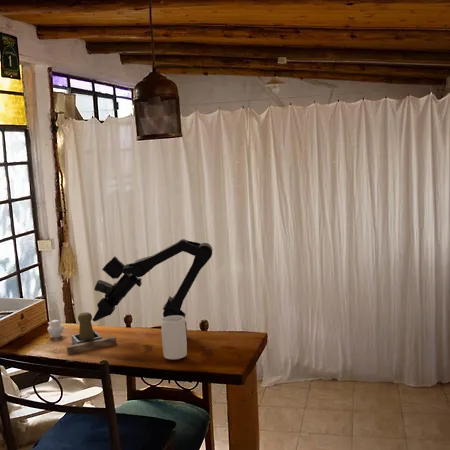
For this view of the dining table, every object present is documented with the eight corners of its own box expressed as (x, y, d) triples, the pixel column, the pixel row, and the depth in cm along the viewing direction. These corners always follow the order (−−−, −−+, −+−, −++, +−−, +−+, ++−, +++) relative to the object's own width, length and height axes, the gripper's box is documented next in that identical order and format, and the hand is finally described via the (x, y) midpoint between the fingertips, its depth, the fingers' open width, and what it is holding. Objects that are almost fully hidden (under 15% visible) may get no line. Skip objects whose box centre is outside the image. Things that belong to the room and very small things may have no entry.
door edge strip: (115, 342, 210) (114, 336, 210) (116, 343, 208) (116, 337, 208) (67, 352, 201) (66, 346, 201) (68, 354, 200) (67, 347, 199)
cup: (174, 352, 197) (171, 313, 195) (192, 356, 192) (190, 316, 190) (158, 360, 190) (155, 320, 188) (176, 364, 185) (174, 323, 183)
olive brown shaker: (84, 345, 207) (82, 316, 206) (75, 341, 211) (73, 313, 210) (98, 340, 211) (95, 312, 210) (89, 337, 215) (86, 310, 214)
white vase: (62, 338, 217) (60, 321, 216) (46, 339, 217) (44, 322, 216) (66, 333, 223) (64, 316, 223) (50, 334, 223) (49, 317, 222)
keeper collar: (95, 336, 218) (95, 330, 217) (102, 343, 210) (101, 336, 209) (72, 341, 213) (71, 335, 213) (77, 348, 205) (77, 341, 205)
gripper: (111, 267, 217) (85, 296, 219) (100, 278, 198) (73, 310, 200) (133, 286, 218) (107, 315, 220) (124, 298, 200) (96, 330, 201)
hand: (96, 317), depth 210 cm, fingers open, 9 cm apart
